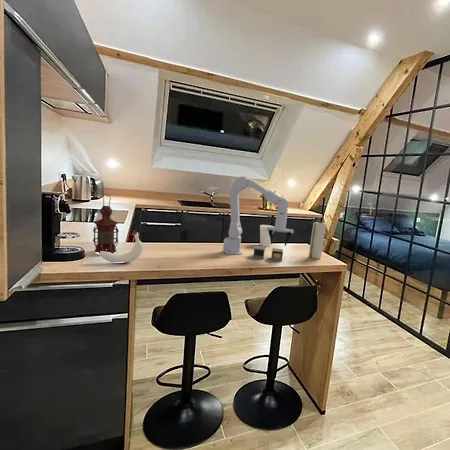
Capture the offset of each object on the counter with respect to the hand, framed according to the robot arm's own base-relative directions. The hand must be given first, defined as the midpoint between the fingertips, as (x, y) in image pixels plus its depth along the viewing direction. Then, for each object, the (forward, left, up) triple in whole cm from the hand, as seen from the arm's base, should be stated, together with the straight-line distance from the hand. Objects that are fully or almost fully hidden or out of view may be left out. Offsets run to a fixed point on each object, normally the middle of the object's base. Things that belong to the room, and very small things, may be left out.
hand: (278, 244), depth 169 cm
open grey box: (0, 0, -8) cm, 9 cm away
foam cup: (+10, +30, -9) cm, 33 cm away
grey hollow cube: (-8, +6, -8) cm, 13 cm away
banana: (-83, +5, -9) cm, 83 cm away
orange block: (0, 0, -9) cm, 9 cm away
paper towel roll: (+27, +1, -9) cm, 29 cm away
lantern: (-89, +23, -9) cm, 92 cm away
